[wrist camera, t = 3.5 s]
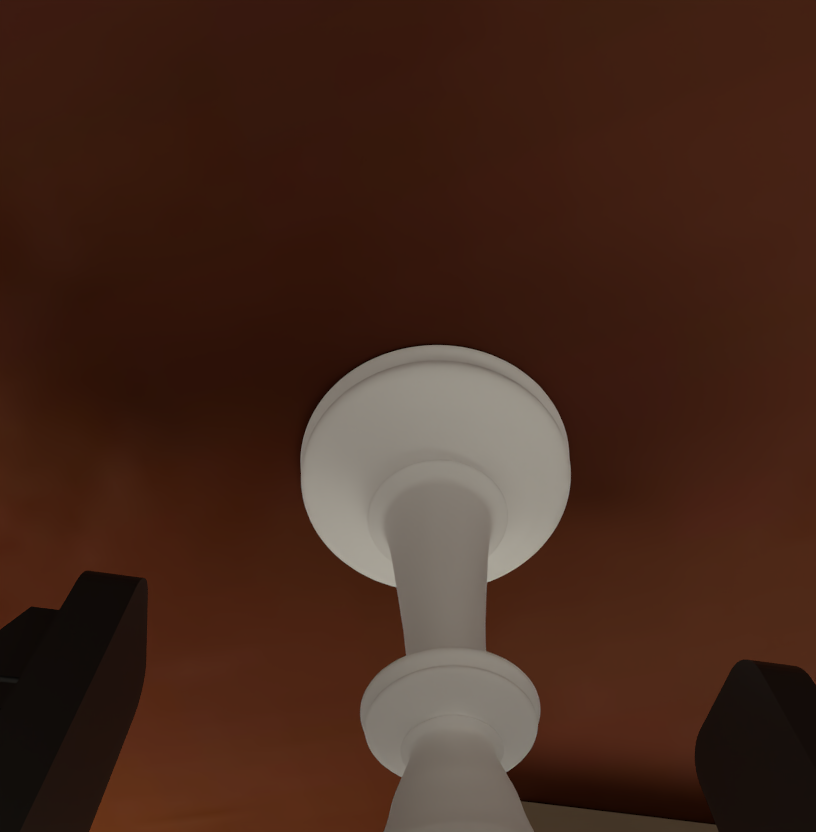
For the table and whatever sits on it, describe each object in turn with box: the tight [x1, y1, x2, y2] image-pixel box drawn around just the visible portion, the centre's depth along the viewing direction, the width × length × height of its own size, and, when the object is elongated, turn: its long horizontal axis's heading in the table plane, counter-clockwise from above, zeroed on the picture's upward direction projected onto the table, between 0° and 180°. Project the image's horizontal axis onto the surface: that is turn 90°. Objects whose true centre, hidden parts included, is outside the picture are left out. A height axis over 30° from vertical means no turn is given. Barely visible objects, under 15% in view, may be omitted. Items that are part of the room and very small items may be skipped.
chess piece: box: [300, 345, 571, 832], centre depth 9 cm, size 5×5×10 cm
